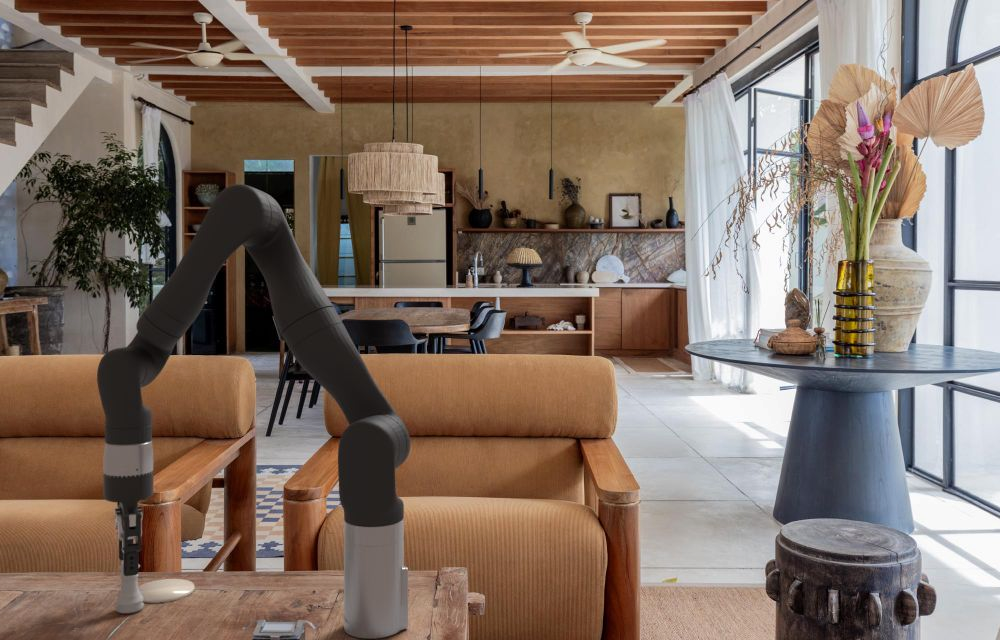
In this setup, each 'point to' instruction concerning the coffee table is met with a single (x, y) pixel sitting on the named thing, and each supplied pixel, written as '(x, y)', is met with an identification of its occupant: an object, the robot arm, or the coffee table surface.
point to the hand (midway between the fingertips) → (128, 566)
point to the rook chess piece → (129, 594)
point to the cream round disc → (166, 590)
